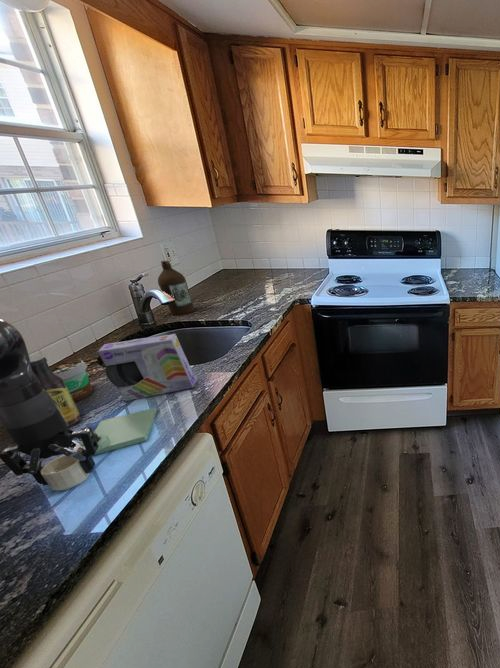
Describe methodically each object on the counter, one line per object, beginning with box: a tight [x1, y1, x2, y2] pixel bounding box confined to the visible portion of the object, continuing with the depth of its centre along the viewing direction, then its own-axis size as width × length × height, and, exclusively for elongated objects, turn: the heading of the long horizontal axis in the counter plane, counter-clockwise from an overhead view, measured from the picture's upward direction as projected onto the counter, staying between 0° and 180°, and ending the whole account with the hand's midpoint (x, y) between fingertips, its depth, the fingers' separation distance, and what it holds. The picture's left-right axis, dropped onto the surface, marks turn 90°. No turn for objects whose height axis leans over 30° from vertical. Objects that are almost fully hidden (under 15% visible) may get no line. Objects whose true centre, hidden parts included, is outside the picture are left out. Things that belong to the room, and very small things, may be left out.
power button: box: [93, 431, 100, 442], centre depth 88 cm, size 3×3×2 cm
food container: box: [52, 358, 94, 403], centre depth 109 cm, size 12×6×10 cm, turn 159°
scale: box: [78, 407, 157, 456], centre depth 94 cm, size 13×15×3 cm
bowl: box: [41, 454, 91, 491], centre depth 80 cm, size 6×6×5 cm
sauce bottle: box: [29, 355, 81, 427], centre depth 95 cm, size 7×6×20 cm
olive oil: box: [157, 259, 195, 316], centre depth 172 cm, size 11×11×25 cm
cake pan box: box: [97, 333, 197, 402], centre depth 109 cm, size 19×5×18 cm, turn 109°
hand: (69, 476), depth 80 cm, fingers closed on bowl, 6 cm apart
